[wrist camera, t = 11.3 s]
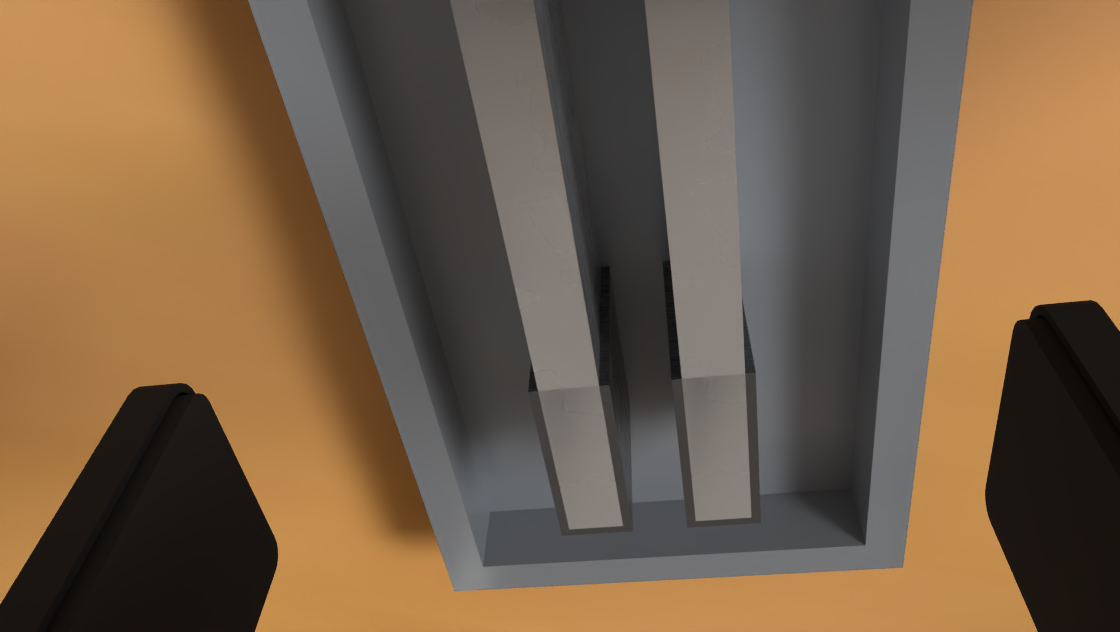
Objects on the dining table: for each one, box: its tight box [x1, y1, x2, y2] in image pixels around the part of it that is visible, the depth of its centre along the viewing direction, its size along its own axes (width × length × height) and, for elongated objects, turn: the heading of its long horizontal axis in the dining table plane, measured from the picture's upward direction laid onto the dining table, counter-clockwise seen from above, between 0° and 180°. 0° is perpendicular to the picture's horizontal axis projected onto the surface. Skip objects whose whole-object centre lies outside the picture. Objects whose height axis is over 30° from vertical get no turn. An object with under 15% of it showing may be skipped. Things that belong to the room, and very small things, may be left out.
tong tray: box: [248, 0, 973, 591], centre depth 18 cm, size 28×12×2 cm, turn 8°
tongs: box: [450, 0, 761, 536], centre depth 16 cm, size 4×20×4 cm, turn 9°
